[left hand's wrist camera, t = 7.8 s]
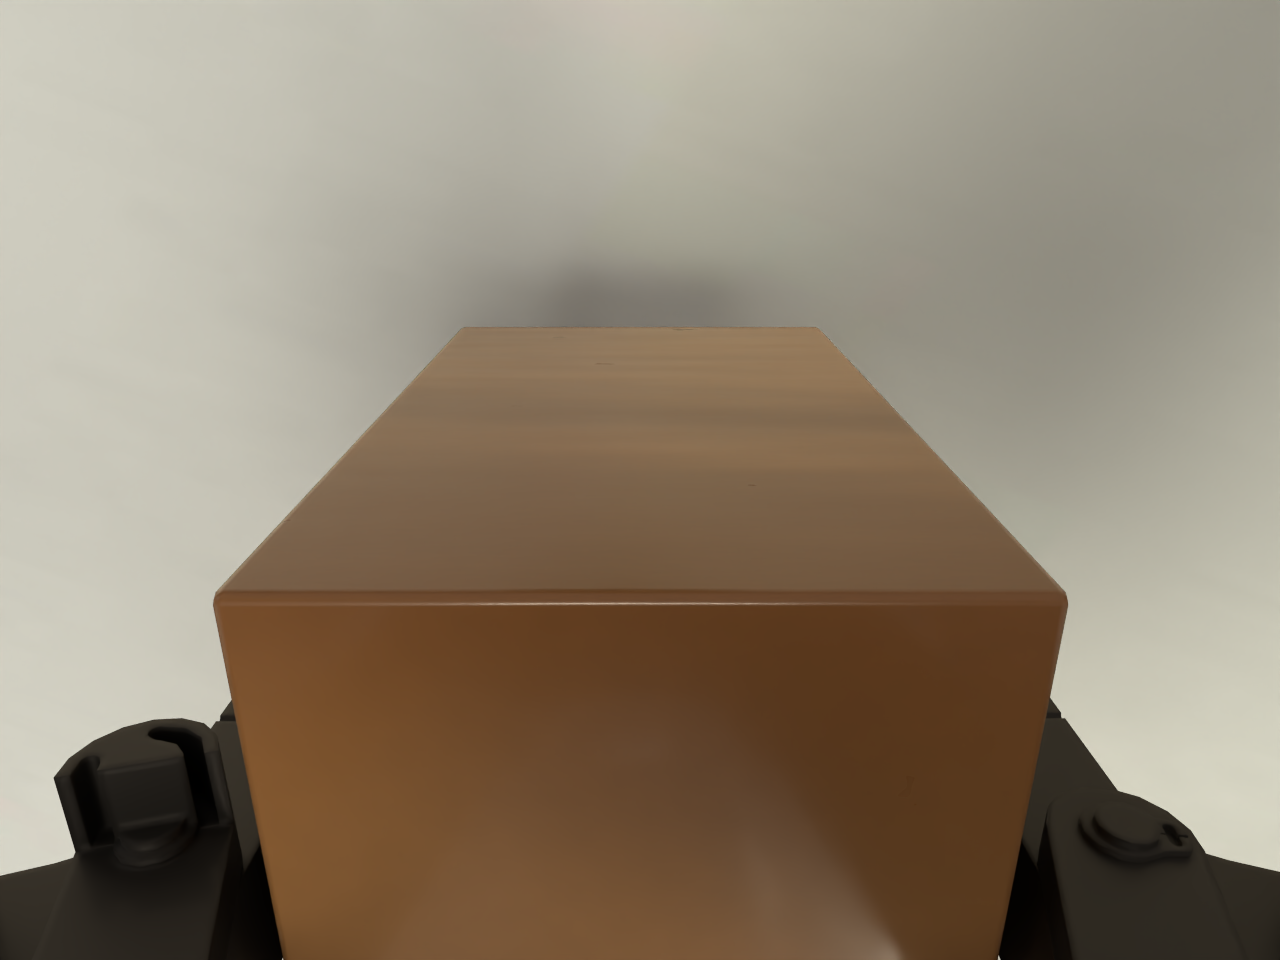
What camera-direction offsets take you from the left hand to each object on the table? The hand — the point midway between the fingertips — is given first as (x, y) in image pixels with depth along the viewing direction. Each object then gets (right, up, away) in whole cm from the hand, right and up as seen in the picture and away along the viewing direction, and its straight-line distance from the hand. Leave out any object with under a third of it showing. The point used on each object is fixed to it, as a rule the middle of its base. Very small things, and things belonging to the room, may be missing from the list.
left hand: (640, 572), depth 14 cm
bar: (0, -8, +4) cm, 9 cm away
